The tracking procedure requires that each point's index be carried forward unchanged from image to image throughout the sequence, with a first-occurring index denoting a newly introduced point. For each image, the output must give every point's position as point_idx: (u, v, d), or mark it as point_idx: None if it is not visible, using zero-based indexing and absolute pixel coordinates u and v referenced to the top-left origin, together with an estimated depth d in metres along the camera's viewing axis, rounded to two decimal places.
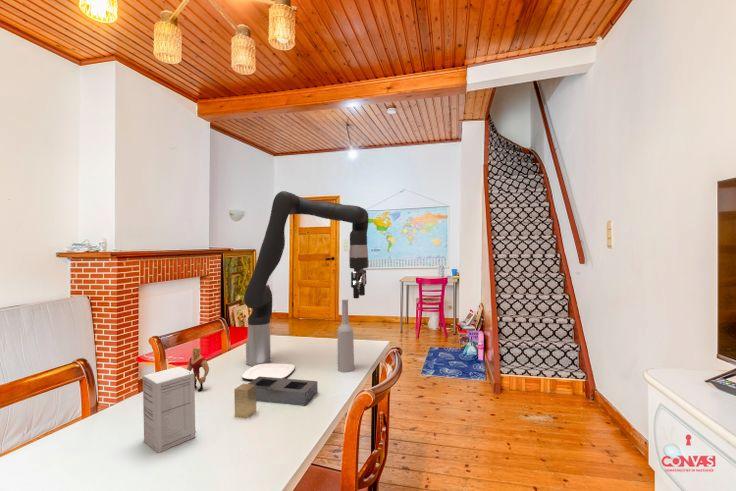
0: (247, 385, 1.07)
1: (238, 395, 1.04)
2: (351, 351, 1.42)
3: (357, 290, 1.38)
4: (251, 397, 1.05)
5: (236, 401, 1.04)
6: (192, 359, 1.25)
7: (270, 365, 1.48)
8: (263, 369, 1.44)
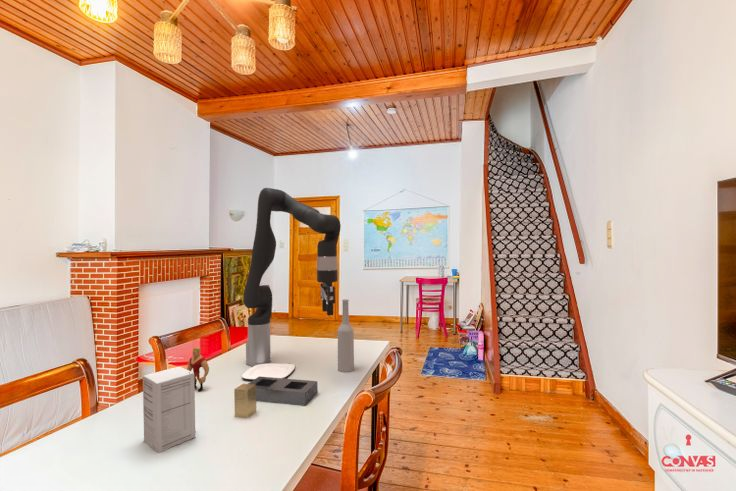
0: (247, 385, 1.07)
1: (238, 395, 1.04)
2: (351, 351, 1.42)
3: (332, 306, 1.26)
4: (251, 397, 1.05)
5: (236, 401, 1.04)
6: (192, 359, 1.25)
7: (270, 365, 1.48)
8: (263, 369, 1.44)
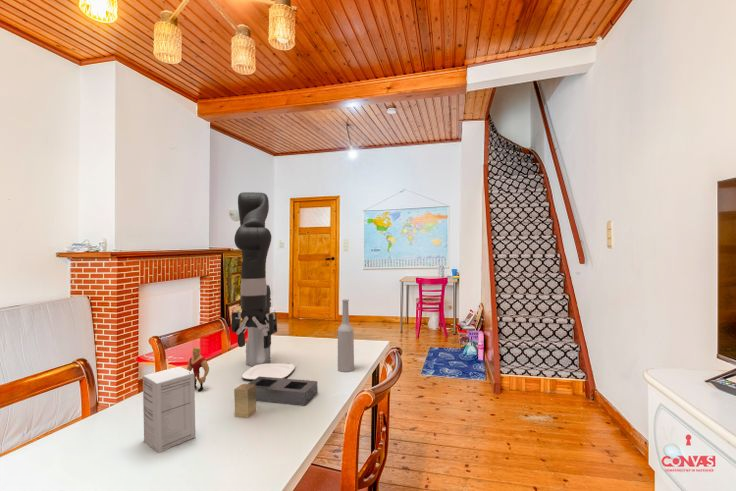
0: (247, 385, 1.07)
1: (238, 395, 1.04)
2: (351, 351, 1.42)
3: None
4: (251, 397, 1.05)
5: (236, 401, 1.04)
6: (192, 359, 1.25)
7: (270, 365, 1.48)
8: (263, 369, 1.44)
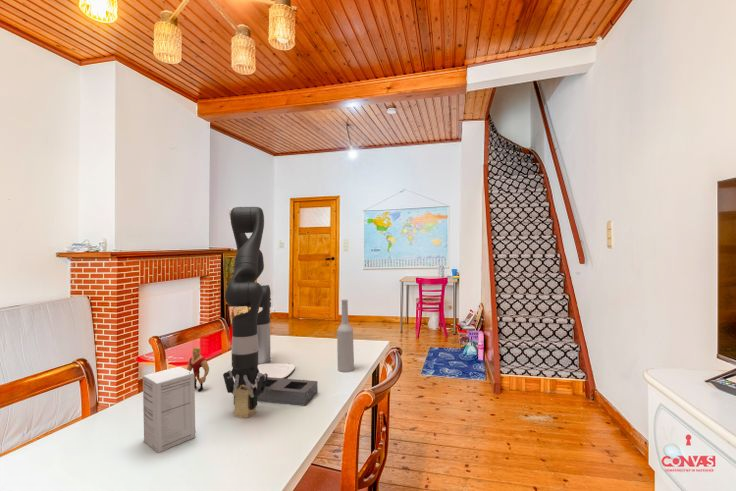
0: None
1: (238, 395, 1.04)
2: (351, 351, 1.42)
3: None
4: None
5: (236, 401, 1.04)
6: (192, 359, 1.25)
7: (270, 365, 1.48)
8: (263, 369, 1.44)
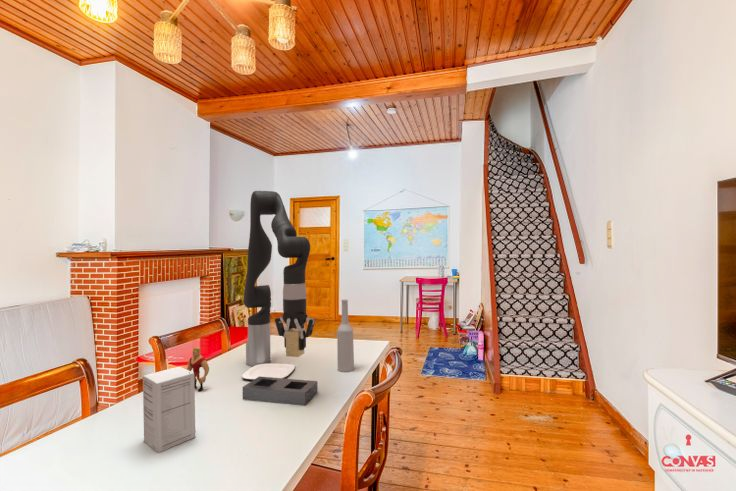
0: (296, 329, 1.18)
1: (289, 337, 1.15)
2: (351, 351, 1.42)
3: None
4: None
5: (288, 342, 1.15)
6: (192, 359, 1.25)
7: (270, 365, 1.48)
8: (263, 369, 1.44)
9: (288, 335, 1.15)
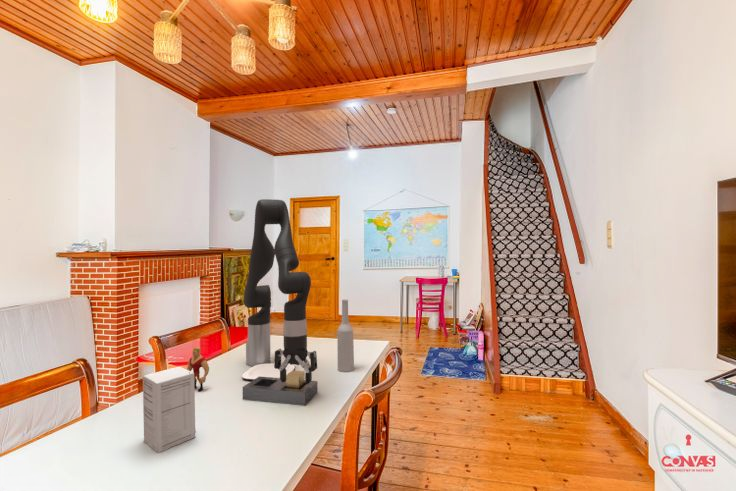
0: (297, 372, 1.18)
1: (290, 380, 1.15)
2: (351, 351, 1.42)
3: None
4: (301, 382, 1.16)
5: (288, 386, 1.15)
6: (192, 359, 1.25)
7: (270, 365, 1.48)
8: (263, 369, 1.44)
9: (288, 379, 1.15)
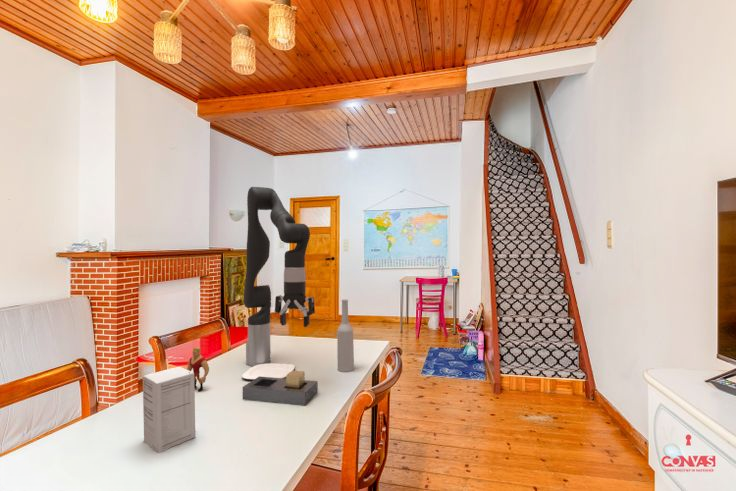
0: (297, 372, 1.18)
1: (290, 380, 1.15)
2: (351, 351, 1.42)
3: None
4: (301, 382, 1.16)
5: (288, 386, 1.15)
6: (192, 359, 1.25)
7: (270, 365, 1.48)
8: (263, 369, 1.44)
9: (288, 379, 1.15)
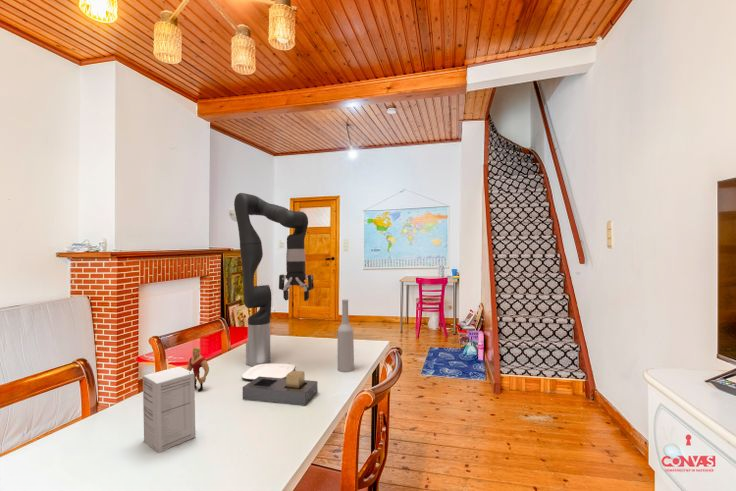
0: (297, 372, 1.18)
1: (290, 380, 1.15)
2: (351, 351, 1.42)
3: None
4: (301, 382, 1.16)
5: (288, 386, 1.15)
6: (192, 359, 1.25)
7: (270, 365, 1.48)
8: (263, 369, 1.44)
9: (288, 379, 1.15)
